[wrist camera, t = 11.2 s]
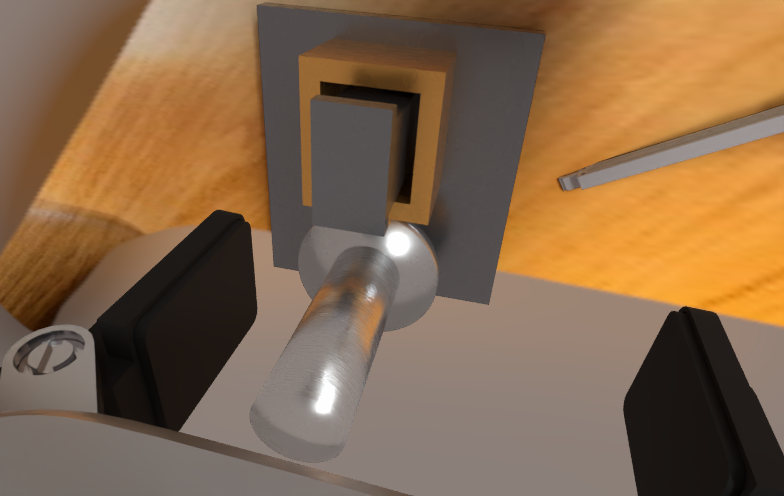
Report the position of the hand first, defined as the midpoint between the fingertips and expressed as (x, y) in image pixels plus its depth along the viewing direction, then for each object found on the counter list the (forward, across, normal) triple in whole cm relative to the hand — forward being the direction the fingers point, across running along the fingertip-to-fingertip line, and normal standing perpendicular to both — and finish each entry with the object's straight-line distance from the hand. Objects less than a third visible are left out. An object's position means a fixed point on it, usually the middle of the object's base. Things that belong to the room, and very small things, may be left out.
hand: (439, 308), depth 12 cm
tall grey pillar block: (+24, +6, +4) cm, 25 cm away
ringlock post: (+25, +6, +9) cm, 27 cm away
